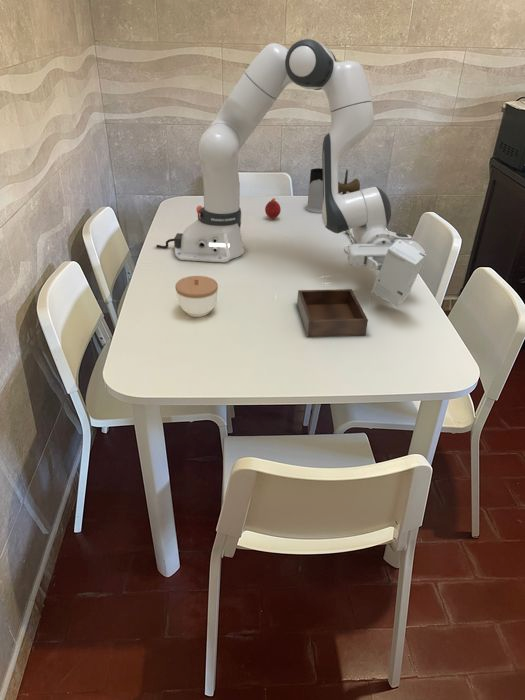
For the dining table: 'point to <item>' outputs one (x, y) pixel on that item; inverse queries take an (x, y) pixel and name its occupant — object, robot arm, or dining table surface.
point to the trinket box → (197, 295)
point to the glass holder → (315, 191)
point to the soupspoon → (351, 236)
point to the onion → (272, 209)
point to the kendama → (348, 185)
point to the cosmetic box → (398, 272)
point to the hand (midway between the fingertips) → (394, 267)
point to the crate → (331, 313)
